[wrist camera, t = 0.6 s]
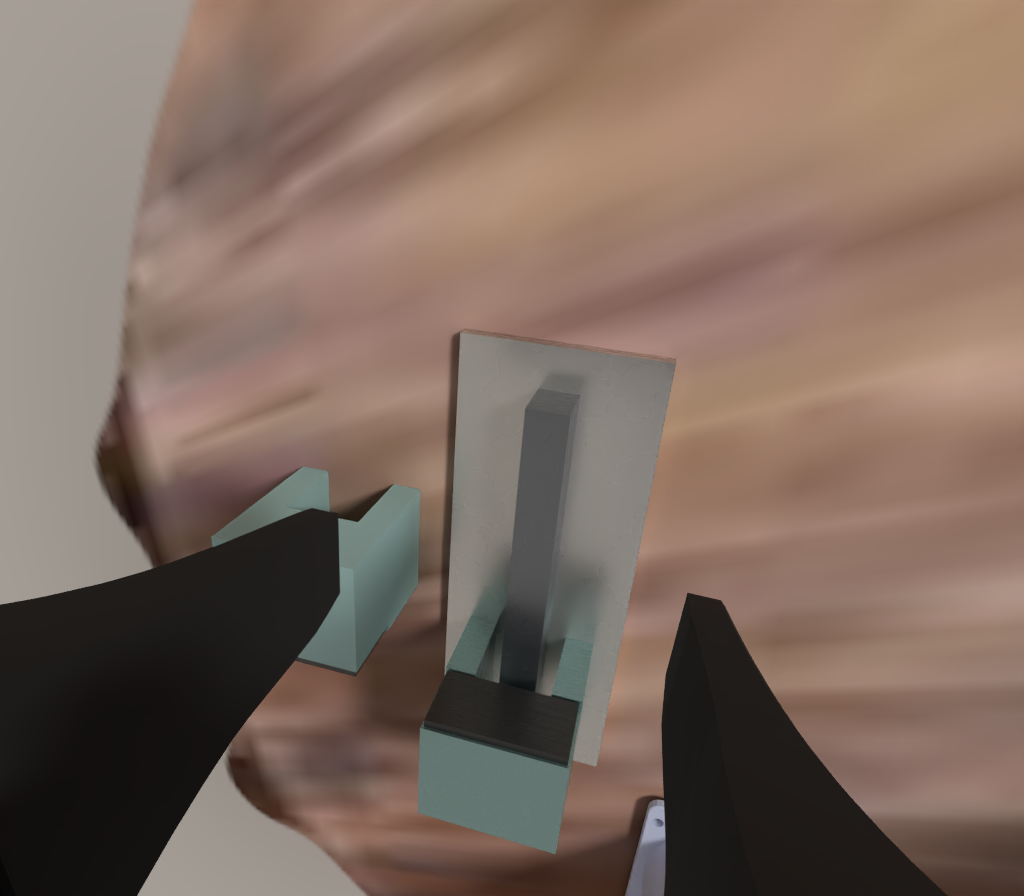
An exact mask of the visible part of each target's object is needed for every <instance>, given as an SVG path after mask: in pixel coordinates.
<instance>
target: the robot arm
mask: <svg viewBox="0 0 1024 896" xmlns="http://www.w3.org/2000/svg"><path fill="white" fill-rule="evenodd" d="M339 594H340V566H339V524H338V514H337V513H332V512H328V511H323V510H319V509H314V508H310V509H307V510H304V511H301V512H298V513H296V514H293V515H291V516H288V517H286V518H283V519H281V520H278V521H276V522H273V523H271V524H268V525H266V526H264V527H261V528H259V529H256V530H254V531H252V532H249V533H247V534H244V535H242V536H239V537H237V538H234V539H232V540H230V541H227V542H225V543H222V544H220V545H217V546H215V547H212V548H209V549H206V550H204V551H201V552H198V553H196V554H193V555H190V556H188V557H185V558H182V559H179V560H177V561H174V562H171V563H169V564H166V565H163V566H160V567H157V568H153V569H150V570H147V571H144V572H141V573H138V574H134V575H131V576H127V577H124V578H120V579H116V580H113V581H109V582H106V583H102V584H98V585H93V586H89V587H85V588H81V589H76V590H72V591H67V592H63V593H59V594H54V595H50V596H45V597H40V598H36V599H30V600H25V601H19V602H14V603H8V604H2V605H0V896H137V895H138V893H139V891H140V889H141V888H142V886H143V884H144V883H145V881H146V879H147V877H148V876H149V874H150V872H151V871H152V869H153V867H154V865H155V863H156V862H157V860H158V858H159V857H160V855H161V853H162V851H163V850H164V848H165V846H166V845H167V843H168V841H169V839H170V838H171V836H172V834H173V833H174V831H175V829H176V828H177V826H178V824H179V823H180V821H181V820H182V818H183V816H184V815H185V813H186V811H187V810H188V808H189V807H190V805H191V803H192V802H193V800H194V798H195V797H196V795H197V794H198V792H199V790H200V789H201V787H202V785H203V784H204V782H205V781H206V779H207V778H208V776H209V775H210V773H211V772H212V770H213V769H214V767H215V765H216V764H217V762H218V761H219V759H220V758H221V756H222V755H223V753H224V752H225V750H226V749H227V747H228V746H229V744H230V743H231V741H232V739H233V738H234V737H235V735H236V734H237V733H238V731H239V730H240V729H241V727H242V726H243V725H244V723H245V722H246V720H247V719H248V718H249V717H250V715H251V714H252V713H253V712H254V710H255V709H256V708H257V707H258V705H259V704H260V703H261V702H262V700H263V699H264V698H265V697H266V695H267V694H268V693H269V692H270V691H271V689H272V688H273V687H274V686H275V684H276V683H277V682H278V681H279V679H280V678H281V677H282V676H283V674H284V673H285V672H286V671H287V669H288V668H289V667H290V666H291V665H292V663H293V662H294V661H295V660H296V658H297V657H298V656H299V654H300V653H301V652H302V651H303V649H304V648H305V647H306V646H307V644H308V643H309V642H310V640H311V639H312V638H313V637H314V635H315V634H316V633H317V631H318V629H319V628H320V626H321V625H322V623H323V621H324V620H325V618H326V617H327V615H328V613H329V612H330V610H331V608H332V606H333V605H334V603H335V601H336V599H337V598H338V596H339ZM662 757H663V786H664V801H663V800H653V801H651V802H650V803H649V804H648V808H647V812H646V816H645V820H644V823H643V827H642V831H641V835H640V839H639V843H638V847H637V851H636V855H635V858H634V862H633V866H632V870H631V874H630V878H629V882H628V886H627V890H626V893H625V896H947V895H946V894H945V893H944V892H943V891H942V890H941V889H940V888H939V887H938V886H937V885H936V884H934V883H933V882H932V881H931V880H930V879H929V878H928V877H927V876H926V875H925V874H924V873H923V872H922V871H921V870H920V869H919V868H918V867H917V866H916V865H915V864H913V863H912V862H911V861H910V860H909V859H908V858H907V857H906V856H905V854H904V853H903V852H902V851H901V850H900V849H899V848H898V847H897V846H896V845H895V844H894V843H893V842H892V841H891V840H890V839H889V838H888V837H887V836H886V835H885V834H884V833H883V832H882V831H881V830H880V829H879V828H878V827H877V825H876V824H875V823H874V822H873V821H872V820H871V819H870V818H869V817H868V816H867V815H866V814H865V812H864V811H863V810H862V809H861V808H860V807H859V806H858V805H857V804H856V803H855V802H854V800H853V799H852V798H851V797H850V796H849V795H848V794H847V792H846V791H845V790H844V789H843V788H842V787H841V785H840V784H839V783H838V782H837V781H836V780H835V778H834V777H833V776H832V775H831V773H830V772H829V771H828V770H827V768H826V767H825V766H824V765H823V763H822V762H821V761H820V760H819V758H818V757H817V756H816V755H815V753H814V752H813V751H812V750H811V748H810V747H809V746H808V744H807V743H806V742H805V740H804V739H803V737H802V736H801V735H800V733H799V732H798V730H797V729H796V728H795V726H794V725H793V723H792V722H791V720H790V719H789V717H788V716H787V714H786V713H785V711H784V710H783V708H782V707H781V705H780V704H779V702H778V701H777V699H776V697H775V696H774V694H773V693H772V691H771V690H770V688H769V686H768V685H767V683H766V681H765V679H764V678H763V676H762V674H761V673H760V671H759V669H758V668H757V666H756V664H755V663H754V661H753V659H752V657H751V656H750V654H749V652H748V650H747V648H746V646H745V645H744V643H743V641H742V639H741V637H740V635H739V633H738V631H737V629H736V627H735V626H734V624H733V622H732V620H731V618H730V616H729V613H728V611H727V609H726V607H725V606H724V604H723V603H722V601H721V600H717V599H713V598H708V597H704V596H699V595H695V594H690V593H687V597H686V601H685V604H684V608H683V612H682V616H681V620H680V623H679V627H678V631H677V635H676V638H675V642H674V646H673V650H672V653H671V657H670V661H669V665H668V668H667V672H666V678H665V689H664V700H663V713H662Z"/></svg>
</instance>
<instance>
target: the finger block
mask: <svg viewBox="0 0 1024 896" xmlns="http://www.w3.org/2000/svg"><path fill="white" fill-rule="evenodd" d="M310 508H314V509H319V510H323V511H328V512H330V500H329V479H328V471H324V470H319V469H314V468H309V467H304V466H303V467H302V468H300V469H299V470H298V471H296V472H295V473H294V474H293V475H291V476H290V477H289V478H287V479H286V480H285V481H283V482H282V483H281V484H280V485H278V486H277V487H276V488H274V489H273V490H272V491H270V492H269V493H268V494H266V495H265V496H264V497H263V498H261V499H260V500H259V501H257V502H256V503H255V504H253V505H252V506H251V507H249V508H248V509H247V510H246V511H244V512H243V513H242V514H240V515H239V516H238V517H236V518H235V519H234V520H233V521H231V522H230V523H229V524H227V525H226V526H225V527H223V528H222V529H221V530H219V531H218V532H217V533H216V534H214V535H213V536H212V537H211V541H212V547H215V546H217V545H220V544H222V543H225V542H227V541H230V540H232V539H234V538H237V537H239V536H242V535H244V534H247V533H249V532H252V531H254V530H256V529H259V528H261V527H264V526H266V525H268V524H271V523H273V522H276V521H278V520H281V519H283V518H286V517H288V516H291V515H293V514H296V513H298V512H301V511H304V510H307V509H310ZM419 522H420V489H415V488H410V487H405V486H400V485H395V484H393V485H392V487H391V488H390V489H389V490H388V491H387V492H386V493H385V494H384V495H383V496H382V497H381V498H380V499H379V500H378V501H377V503H376V504H375V505H374V506H373V507H372V508H371V509H370V510H369V511H368V512H367V513H366V514H365V515H364V516H363V518H362V519H361V520H360V521H359V522H354V521H350V520H345V519H340V518H338V524H339V566H340V594H339V596H338V598H337V599H336V601H335V603H334V605H333V606H332V608H331V610H330V612H329V613H328V615H327V617H326V618H325V620H324V621H323V623H322V625H321V626H320V628H319V629H318V631H317V633H316V634H315V635H314V637H313V638H312V639H311V640H310V642H309V643H308V644H307V646H306V647H305V648H304V649H303V651H302V652H301V653H300V654H299V656H298V657H297V658H296V660H295V661H298V662H302V663H306V664H310V665H314V666H317V667H321V668H325V669H329V670H333V671H337V672H340V673H344V674H348V675H352V676H356V675H357V673H358V672H359V670H360V669H361V667H362V666H363V664H364V663H365V661H366V660H367V658H368V657H369V655H370V653H371V652H372V650H373V649H374V647H375V646H376V644H377V643H378V641H379V640H380V638H381V637H382V635H383V634H384V630H385V631H388V630H389V629H390V627H391V626H392V624H393V623H394V621H395V619H396V618H397V616H398V615H399V613H400V612H401V610H402V609H403V607H404V606H405V604H406V602H407V601H408V599H409V598H410V596H411V595H412V593H413V592H414V590H415V589H416V587H417V585H418V569H419Z"/></svg>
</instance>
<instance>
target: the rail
mask: <svg viewBox="0 0 1024 896" xmlns="http://www.w3.org/2000/svg"><path fill="white" fill-rule="evenodd" d="M675 366H676V359H670V358H663V357H656V356H649V355H642V354H635V353H628V352H621V351H614V350H607V349H600V348H593V347H586V346H579V345H572V344H565V343H559V342H552V341H545V340H538V339H531V338H524V337H517V336H510V335H503V334H496V333H489V332H482V331H475V330H468V329H465V330H463V331H462V332H460V351H459V373H458V395H457V416H456V438H455V459H454V481H453V503H452V524H451V546H450V568H449V589H448V611H447V633H446V654H445V676H444V678H443V681H442V683H441V685H440V687H439V689H438V691H437V693H436V695H435V697H434V700H433V702H432V704H431V706H430V708H429V710H428V712H427V714H426V716H425V718H424V721H423V723H422V725H421V727H420V747H419V786H418V813H420V814H424V815H427V816H430V817H434V818H437V819H440V820H444V821H447V822H450V823H454V824H457V825H460V826H464V827H467V828H470V829H474V830H477V831H480V832H483V833H487V834H490V835H493V836H497V837H500V838H503V839H507V840H510V841H513V842H517V843H520V844H523V845H527V846H530V847H533V848H537V849H540V850H543V851H547V852H550V853H553V854H556V849H557V844H558V838H559V833H560V827H561V822H562V817H563V811H564V806H565V801H566V795H567V790H568V785H569V779H570V774H571V768H572V763H573V760H574V761H578V762H581V763H585V764H589V765H592V766H597V761H598V756H599V751H600V746H601V740H602V735H603V730H604V725H605V720H606V715H607V710H608V705H609V700H610V695H611V690H612V685H613V680H614V675H615V670H616V664H617V659H618V654H619V649H620V644H621V639H622V634H623V629H624V624H625V619H626V614H627V609H628V604H629V599H630V594H631V588H632V583H633V578H634V573H635V568H636V563H637V558H638V553H639V548H640V543H641V538H642V533H643V528H644V523H645V518H646V513H647V507H648V502H649V497H650V492H651V487H652V482H653V477H654V472H655V467H656V462H657V457H658V452H659V447H660V442H661V437H662V431H663V426H664V421H665V416H666V411H667V406H668V401H669V396H670V391H671V386H672V381H673V376H674V371H675Z"/></svg>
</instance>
